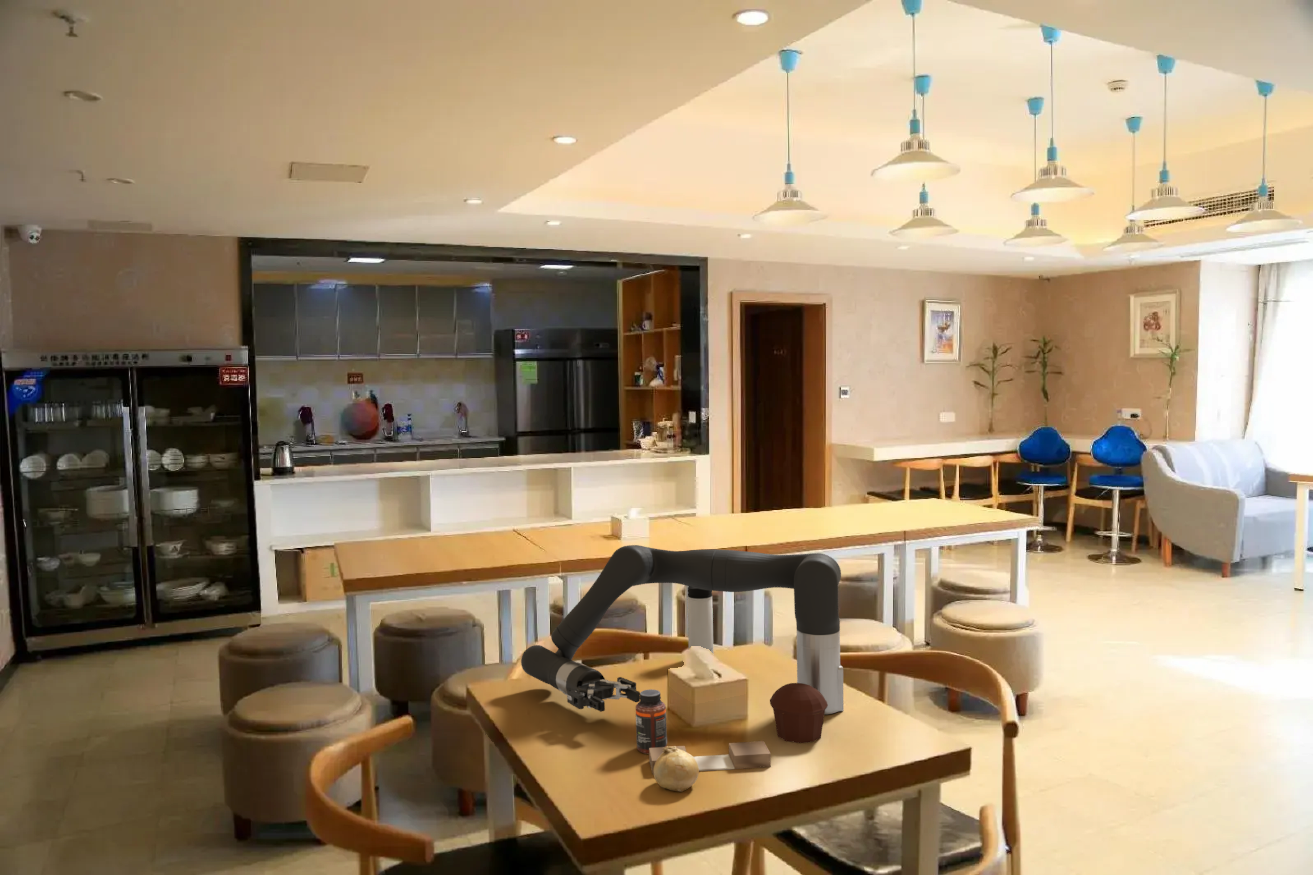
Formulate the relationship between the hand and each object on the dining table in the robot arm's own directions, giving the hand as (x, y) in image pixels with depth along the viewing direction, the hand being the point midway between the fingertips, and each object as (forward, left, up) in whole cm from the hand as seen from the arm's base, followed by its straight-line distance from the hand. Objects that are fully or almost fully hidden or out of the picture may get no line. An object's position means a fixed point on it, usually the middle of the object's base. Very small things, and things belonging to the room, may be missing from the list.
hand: (621, 702), depth 191 cm
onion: (-8, +26, -7) cm, 28 cm away
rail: (-15, +18, -7) cm, 24 cm away
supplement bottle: (-5, +9, -7) cm, 13 cm away
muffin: (-35, +6, -7) cm, 36 cm away
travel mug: (-23, -46, -7) cm, 52 cm away
